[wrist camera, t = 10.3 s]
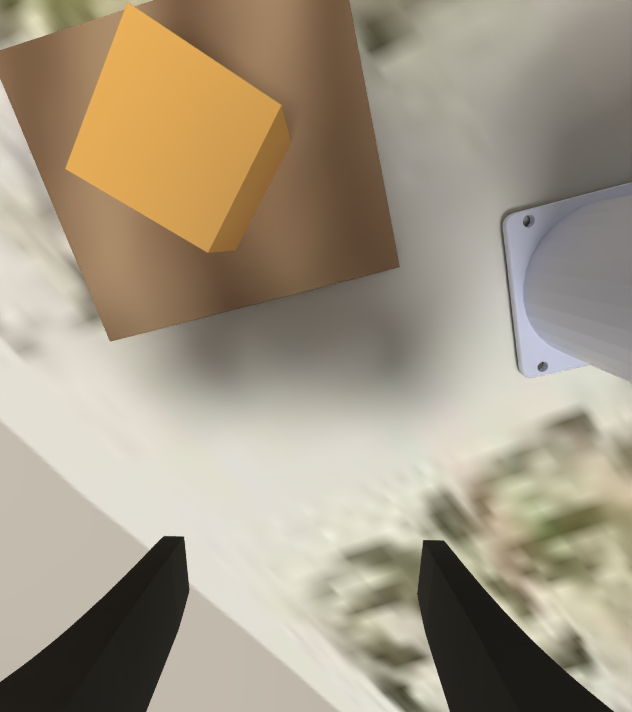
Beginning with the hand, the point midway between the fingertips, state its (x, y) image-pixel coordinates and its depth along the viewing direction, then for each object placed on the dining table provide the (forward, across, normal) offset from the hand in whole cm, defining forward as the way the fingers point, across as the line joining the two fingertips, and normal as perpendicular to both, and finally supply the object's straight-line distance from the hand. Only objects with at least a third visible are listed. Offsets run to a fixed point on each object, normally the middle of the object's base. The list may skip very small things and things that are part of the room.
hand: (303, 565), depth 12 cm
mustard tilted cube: (+8, +4, -12) cm, 16 cm away
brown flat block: (+9, +4, -12) cm, 16 cm away
